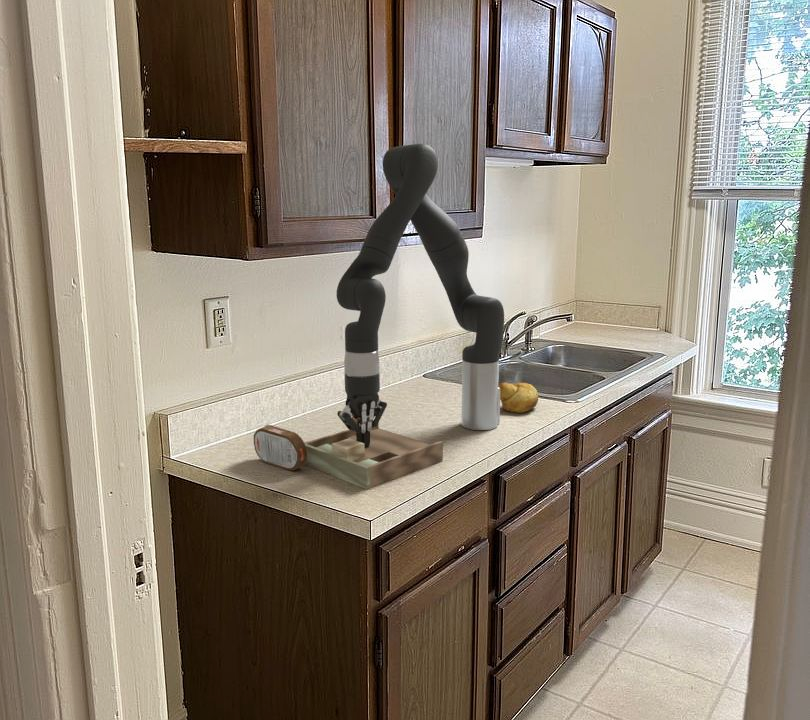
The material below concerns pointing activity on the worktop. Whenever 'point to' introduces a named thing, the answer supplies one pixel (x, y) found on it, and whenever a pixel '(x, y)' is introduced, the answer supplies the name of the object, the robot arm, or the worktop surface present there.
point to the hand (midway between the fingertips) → (363, 447)
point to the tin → (280, 447)
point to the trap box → (373, 457)
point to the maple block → (349, 449)
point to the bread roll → (518, 397)
